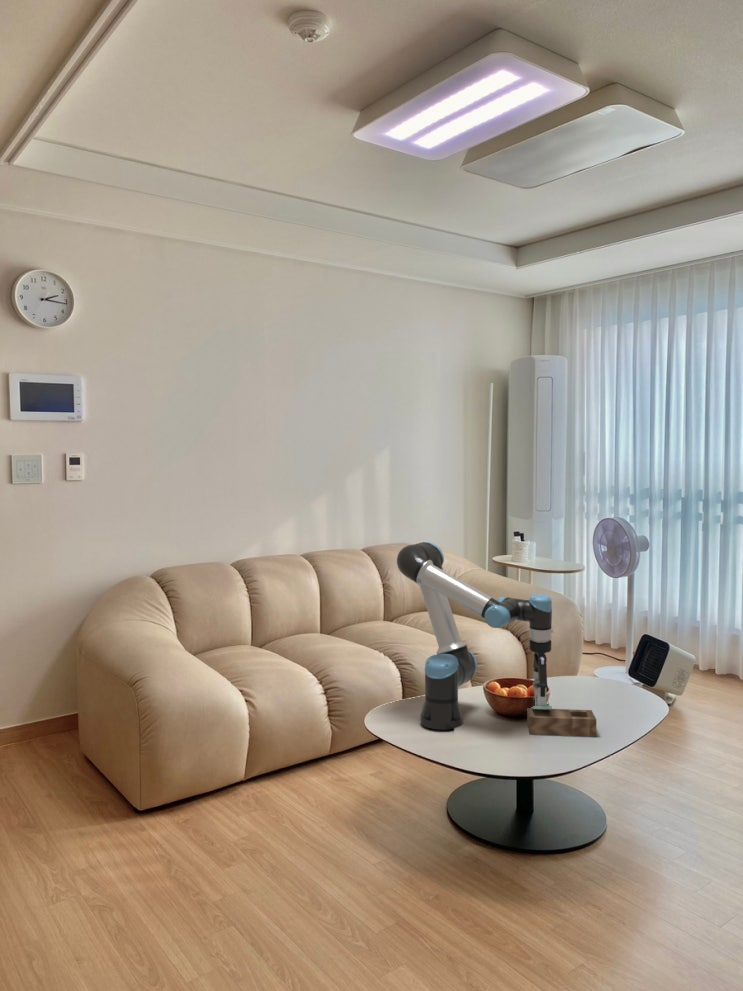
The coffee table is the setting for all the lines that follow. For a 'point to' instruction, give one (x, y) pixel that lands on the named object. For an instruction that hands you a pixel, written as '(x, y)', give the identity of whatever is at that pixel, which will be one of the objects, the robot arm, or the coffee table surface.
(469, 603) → the robot arm
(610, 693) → the coffee table surface
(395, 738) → the coffee table surface
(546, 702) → the grey cylinder
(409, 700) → the coffee table surface
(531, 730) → the block
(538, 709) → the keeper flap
